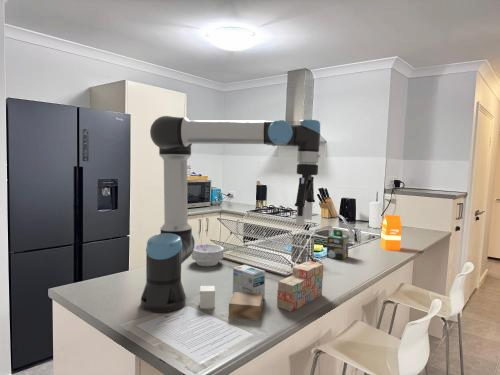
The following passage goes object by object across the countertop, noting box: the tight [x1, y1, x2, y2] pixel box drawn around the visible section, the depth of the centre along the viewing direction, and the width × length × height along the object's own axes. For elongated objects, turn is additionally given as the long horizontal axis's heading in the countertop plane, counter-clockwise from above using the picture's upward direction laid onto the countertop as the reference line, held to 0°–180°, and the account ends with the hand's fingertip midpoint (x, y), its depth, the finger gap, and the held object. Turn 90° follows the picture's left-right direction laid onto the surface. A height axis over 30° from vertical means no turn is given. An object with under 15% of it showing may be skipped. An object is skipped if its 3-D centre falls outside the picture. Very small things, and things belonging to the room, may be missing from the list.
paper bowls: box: [190, 243, 225, 267], centre depth 172 cm, size 15×15×8 cm
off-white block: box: [199, 285, 216, 309], centre depth 124 cm, size 5×5×6 cm
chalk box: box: [326, 229, 350, 261], centre depth 191 cm, size 9×9×15 cm
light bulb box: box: [232, 264, 266, 300], centre depth 132 cm, size 11×7×11 cm, turn 47°
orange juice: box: [380, 214, 402, 251], centre depth 214 cm, size 8×9×20 cm
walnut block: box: [228, 292, 264, 321], centre depth 119 cm, size 10×10×5 cm
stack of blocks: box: [276, 260, 324, 312], centre depth 130 cm, size 21×6×12 cm, turn 141°
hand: (304, 222), depth 130 cm, fingers open, 13 cm apart
